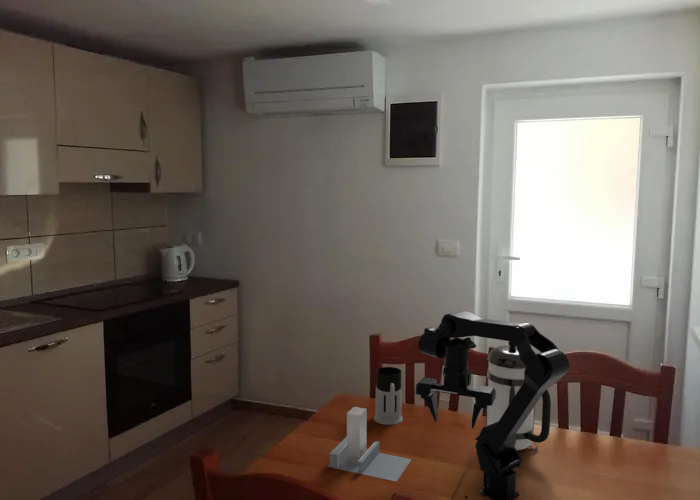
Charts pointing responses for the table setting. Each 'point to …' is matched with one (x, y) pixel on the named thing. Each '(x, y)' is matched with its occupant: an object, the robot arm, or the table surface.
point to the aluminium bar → (356, 434)
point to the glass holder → (388, 396)
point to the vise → (370, 462)
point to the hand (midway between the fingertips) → (454, 424)
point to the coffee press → (513, 394)
